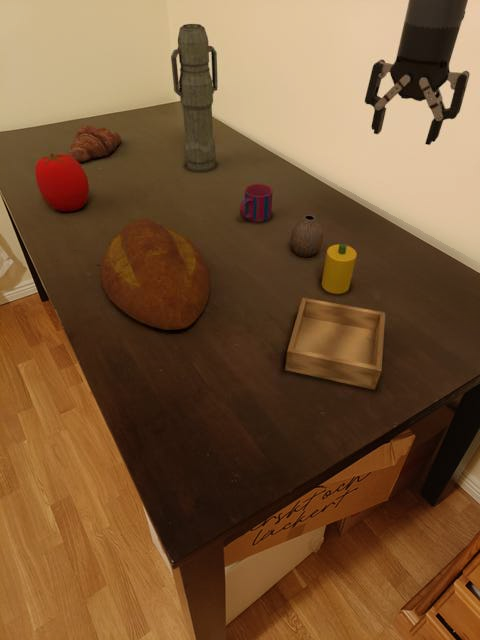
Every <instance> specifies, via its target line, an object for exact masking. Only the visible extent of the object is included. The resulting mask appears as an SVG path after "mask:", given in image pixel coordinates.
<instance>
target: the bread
mask: <svg viewBox="0 0 480 640" xmlns="http://www.w3.org/2000/svg"><path fill="white" fill-rule="evenodd" d="M99 267H100V268H99V280H100V282H101V284H102V287H103V291H104V292H105V293H106V295H107V297H108V299H109V300H110V301H111V302H112V303H113V304H114V305H115V306H116V307H117V308H119V309H120V310H121V311H123V313H125V315H128V316H129V317H131V318H132V319H134V320H135V321H137V322H139V323H142V324H145V325H146V326H149V327H151V328H157V329H159V330H164V331H177V330H179V331H180V330H186V329H188V328H189V327H191V325H193V324H194V323H195V322H196V321H197V319H198V318H200V316H201V314H202V313H203V312H204V310H205V307H206V305H207V302H209V301H208V300H209V296H210V292H211V269H210V268H209V266H208V264H207V262H206V260H205V258H204V256H203V255H202V253H201V252H200V251H199V250H198V248H197V247H196V245H194V244H193V242H192V241H191V240H190V239H189V238H187V237H185V236H184V235H183V234H181V233H179V232H177V231H176V230H173V229H172V228H170V227H167V226H165V225H163V224H160V223H157V222H156V221H154V220H151V219H149V218H138V219H134V220H132V221H131V222H129V223H128V224H127V225H125V226H124V227H123V228H122V229H121V230H120V231H119V232H118V233H117V234H115V236H114V237H112V239H111V241H110V243H109V244H108V246H107V247H106V250H105V251H104V253H103V254H102V257H101V262H100V266H99Z"/></svg>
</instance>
